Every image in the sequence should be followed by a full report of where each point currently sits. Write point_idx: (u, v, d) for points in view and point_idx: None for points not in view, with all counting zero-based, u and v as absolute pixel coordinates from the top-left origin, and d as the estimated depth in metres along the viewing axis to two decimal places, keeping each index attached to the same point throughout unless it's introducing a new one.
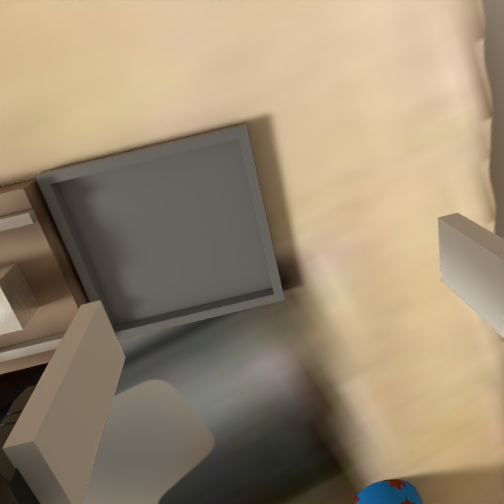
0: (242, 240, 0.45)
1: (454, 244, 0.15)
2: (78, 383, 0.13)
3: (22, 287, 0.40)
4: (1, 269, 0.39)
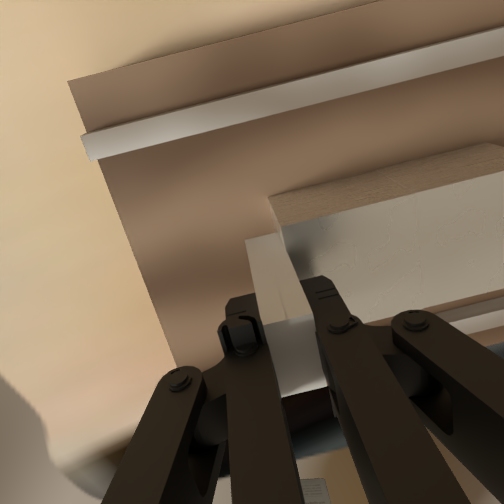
0: None
1: None
2: None
3: None
4: (472, 151, 0.18)
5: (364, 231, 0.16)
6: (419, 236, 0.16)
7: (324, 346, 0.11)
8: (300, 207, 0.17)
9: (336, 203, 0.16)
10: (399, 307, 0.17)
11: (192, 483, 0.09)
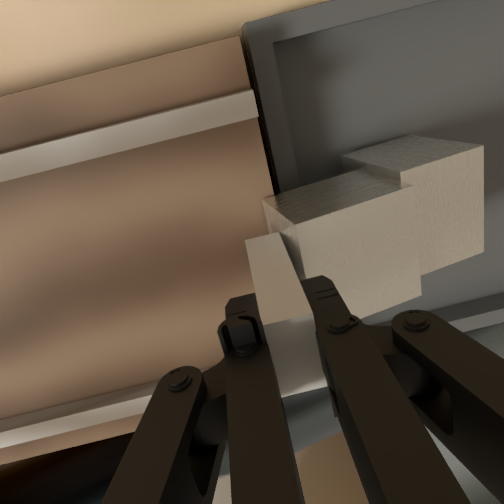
0: None
1: None
2: None
3: None
4: (368, 153, 0.21)
5: (371, 224, 0.16)
6: (482, 185, 0.18)
7: (324, 346, 0.11)
8: (305, 206, 0.17)
9: (340, 199, 0.17)
10: (401, 296, 0.18)
11: (191, 483, 0.09)
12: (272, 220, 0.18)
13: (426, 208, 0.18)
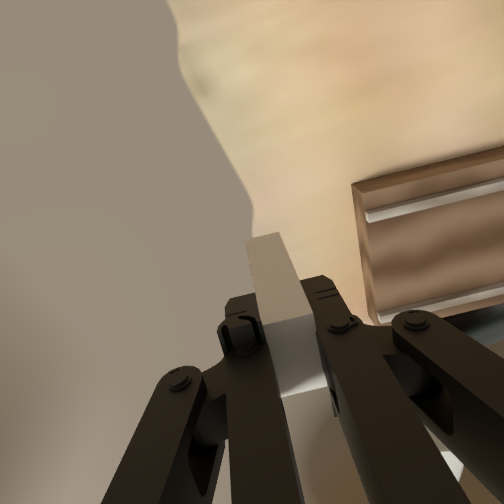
0: None
1: None
2: None
3: None
4: None
5: None
6: None
7: (324, 346, 0.11)
8: None
9: None
10: None
11: (191, 483, 0.09)
12: None
13: None
